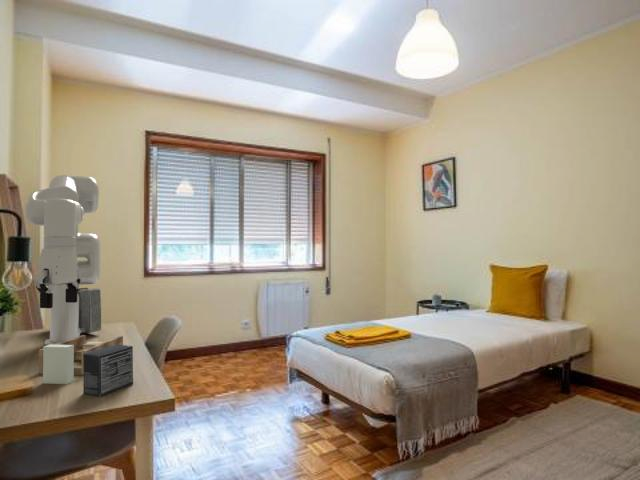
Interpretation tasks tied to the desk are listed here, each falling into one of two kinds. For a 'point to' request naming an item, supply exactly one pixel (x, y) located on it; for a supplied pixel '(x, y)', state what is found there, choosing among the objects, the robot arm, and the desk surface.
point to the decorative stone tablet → (89, 309)
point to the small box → (107, 370)
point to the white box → (58, 364)
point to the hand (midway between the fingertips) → (59, 305)
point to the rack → (78, 346)
